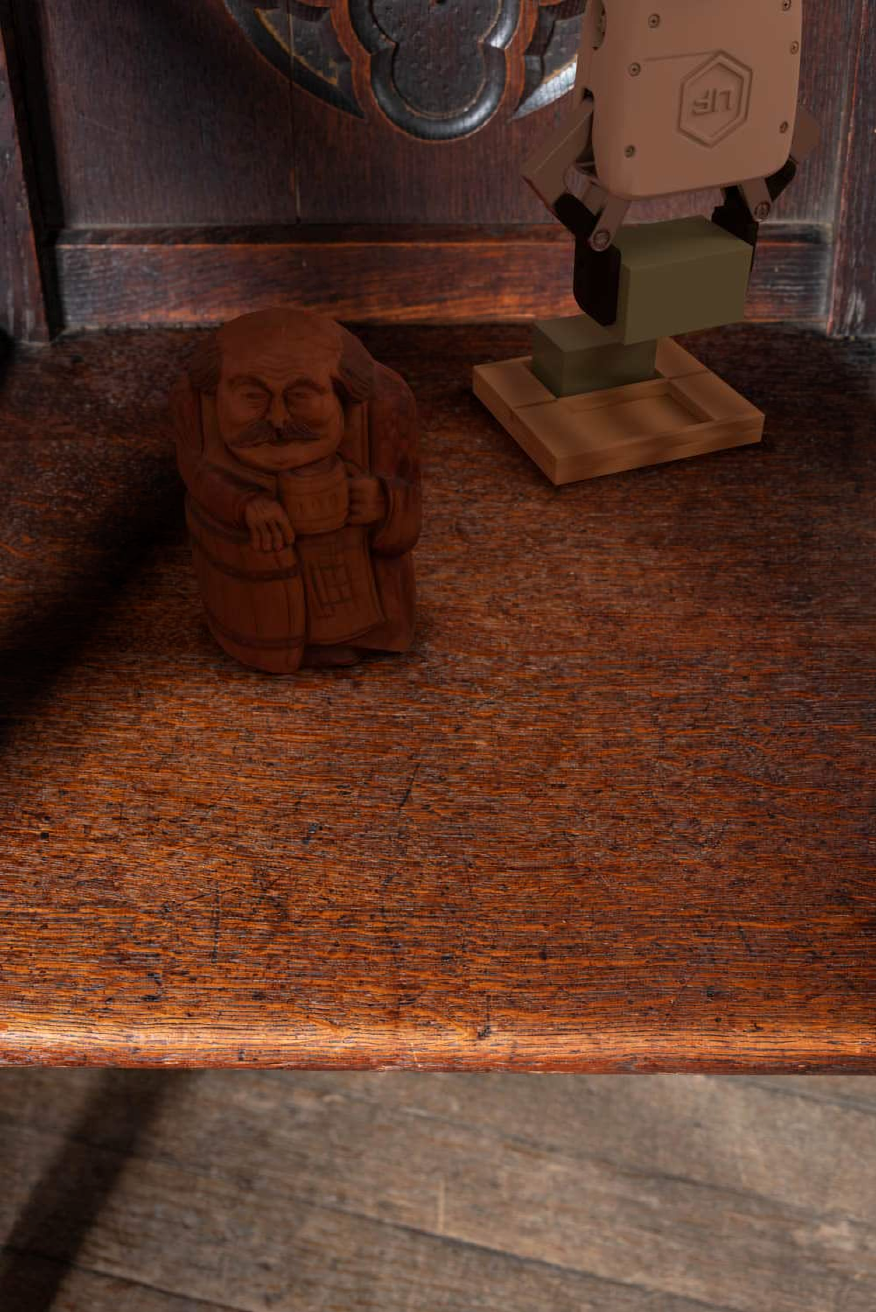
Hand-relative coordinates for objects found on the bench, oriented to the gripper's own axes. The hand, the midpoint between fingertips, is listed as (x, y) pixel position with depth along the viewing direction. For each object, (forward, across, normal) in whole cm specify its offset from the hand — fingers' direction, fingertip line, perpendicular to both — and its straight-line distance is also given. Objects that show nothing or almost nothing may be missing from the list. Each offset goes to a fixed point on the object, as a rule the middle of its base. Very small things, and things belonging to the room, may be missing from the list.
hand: (661, 300), depth 66 cm
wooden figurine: (+14, -21, -2) cm, 26 cm away
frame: (+14, +5, +13) cm, 20 cm away
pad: (+1, 0, 0) cm, 1 cm away
